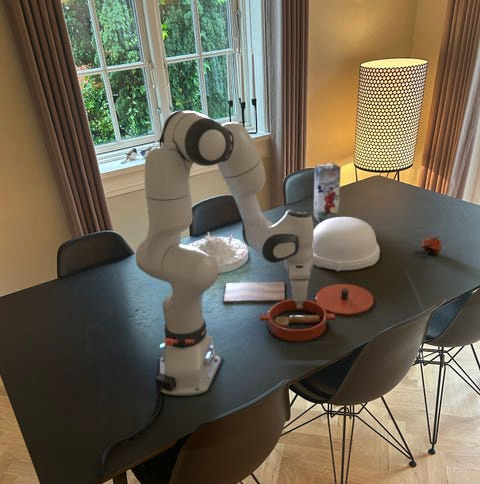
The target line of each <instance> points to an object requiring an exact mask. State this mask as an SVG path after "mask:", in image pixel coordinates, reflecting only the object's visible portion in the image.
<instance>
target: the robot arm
mask: <svg viewBox="0 0 480 484" xmlns="http://www.w3.org/2000/svg"><path fill="white" fill-rule="evenodd" d="M161 132H162V133H161V135H160V137H159V141H158V143H159V146H158V147H155V148H153V149H152V150H150V151H149V152H148V153H147V154H146V156H145V161H144V187H145V188H144V190H145V198H146V207H147V215H148V216H147V217H148V231H147V234H146V237H145V239H143V241H141V243H139V245H138V247H137V248H136V251H135V264H136V266H137V268H138V269H139V270H141V271H142V272H143V273H145V274H146V275H148V276H150V277H151V278H154V279H157V280H160V281H163V282H164V283H168V284H169V286H171V289H172V291H171V292H170V293H168V294H167V295H166V296H165V298H164V300H163V301H162V311H163V318H164V335H165V336H164V338H163V343H161V344H160V345H159V347H160V348H164V349H163V353H164V354H162V356H161V357H160V358H159V374H158V375H156V376H155V378H154V379H155V385H156V387H158V390H157V393H156V394H157V397H158V407H157V410H156V412H155V413H154V414H153V416H152V417H151V418H150V420H149V421H148V422H146V423H145V424H144V425H143V426H141V427H140V428H138V429H137V430H136V431H135V432H133V433H131V434H129V435H126V436H125V437H123V438H121V439H118V440H116V441H114V442H113V443H111V444H110V445H109V446H108V447H107V448H106V449H105V450H104V452H103V454H102V457H101V460H100V469H99V475H98V477H99V478H102V477H103V475H104V467H105V459H106V457H107V455H108V453H109V451H111V450H112V449H113V448H114V447H115V446H116V445H119V444H120V443H123V442H125V441H127V440H130V439H131V438H133V437H136V436H137V435H138V434H139V433H141V432H142V431H144V430H145V429H146V428H148V427H149V426H150V425H151V424H152V423H153V422H154V421H155V420H156V418H157V416H158V415H159V413H160V412H161V409H162V400H163V397H162V395H161V393H162V394H165V395H169V396H170V395H171V396H195V395H200V394H203V393H205V392H206V393H207V392H208V390H209V388H210V386H211V384H212V382H213V379H214V378H215V375H216V373H217V371H218V369H219V368H220V365H221V363H222V358H221V357H220V355H217V354H216V351H215V346H214V341H213V338H212V336H211V335H209V333H208V331H207V323H206V320H205V318H204V313H203V312H204V311H203V297H204V293H205V292H206V291H208V290H210V289H211V288H212V287H213V286H214V285H215V284H216V282H217V279H218V276H219V273H218V264H217V261H216V259H215V258H214V257H212V256H211V255H209V254H207V253H206V252H204V251H202V250H200V249H196V248H193V247H189V246H187V245H186V244H183V243H182V240H181V234H182V232H184V231H186V230H188V228H189V227H190V226H191V224H192V223H193V219H194V218H193V217H194V216H193V205H192V196H191V195H192V193H191V185H190V173H191V169H192V166H193V165H194V164H196V165H198V166H202V167H210V166H214V165H217V167H218V170H219V172H220V173H221V174H220V175H221V177H222V179H223V181H224V183H225V185H226V187H227V189H228V190H229V192H230V193H231V195H232V197H233V200H234V204H235V205H236V208H237V210H238V213H239V216H240V219H241V225H242V227H241V229H242V231H241V233H242V239H243V241H244V243H245V244H246V245H247V247H250V248H251V249H252V250H254V251H255V252H256V253H257V254H258V255H260V256H261V257H262V258H263V259H264V260H265V261H266V262H269V263H279V262H282V261H283V263H284V268H285V269H286V272H287V276H288V278H289V280H290V284H291V292H292V299H294V302H296V303H297V308H302V303H303V302H305V301H306V300H307V297H308V288H309V280H310V279H311V275H312V270H313V267H314V264H313V248H312V243H313V239H314V221H313V217H312V215H311V214H309V213H308V212H307V211H305V210H302V209H289V210H286V212H285V214H284V215H283V217H282V218H281V219H280V220H278V222H276V223H275V224H274V223H273V222H272V220H270V219H269V218H268V217H267V216H266V215H264V213H262V209H261V206H260V204H259V200H258V198H257V194H258V193H259V192H260V191H261V190H262V189H263V188H264V185H265V183H266V180H267V178H266V171H265V166H264V163H263V161H262V158H261V156H260V155H261V154H260V152H259V150H258V148H257V146H256V144H255V143H254V140H253V138H252V136H251V134H250V133H249V131H248V130H247V128H246V127H245V126H244V125H243V124H241V123H240V122H237V121H233V122H232V121H231V122H226V123H223V124H222V123H220V122H219V121H218V120H217V119H213V118H210V117H208V116H207V115H205V114H203V113H201V112H197V111H192V110H189V109H180V110H177V111H174V112H172V113H170V115H169V116H167V118H166V119H165V121H164V124H163V127H162V131H161Z"/></svg>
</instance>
